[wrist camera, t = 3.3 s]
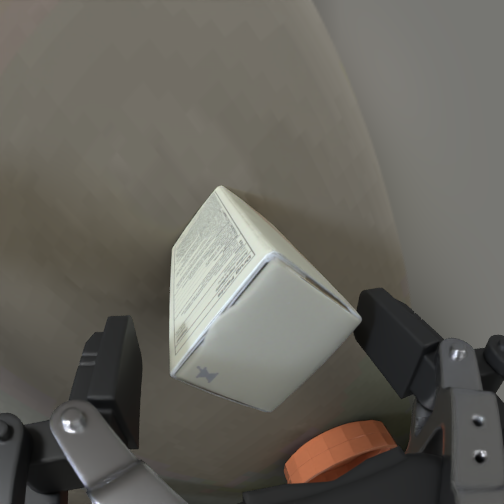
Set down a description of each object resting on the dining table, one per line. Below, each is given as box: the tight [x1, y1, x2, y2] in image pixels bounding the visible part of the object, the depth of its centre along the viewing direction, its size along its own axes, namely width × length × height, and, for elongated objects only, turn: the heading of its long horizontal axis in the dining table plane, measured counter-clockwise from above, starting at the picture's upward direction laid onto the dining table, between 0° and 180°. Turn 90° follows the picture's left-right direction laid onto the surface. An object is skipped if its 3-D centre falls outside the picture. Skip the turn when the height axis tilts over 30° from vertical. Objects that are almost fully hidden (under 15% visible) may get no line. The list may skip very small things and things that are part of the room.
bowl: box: [284, 420, 398, 484], centre depth 31 cm, size 14×14×5 cm
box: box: [169, 186, 362, 412], centre depth 14 cm, size 5×4×11 cm
